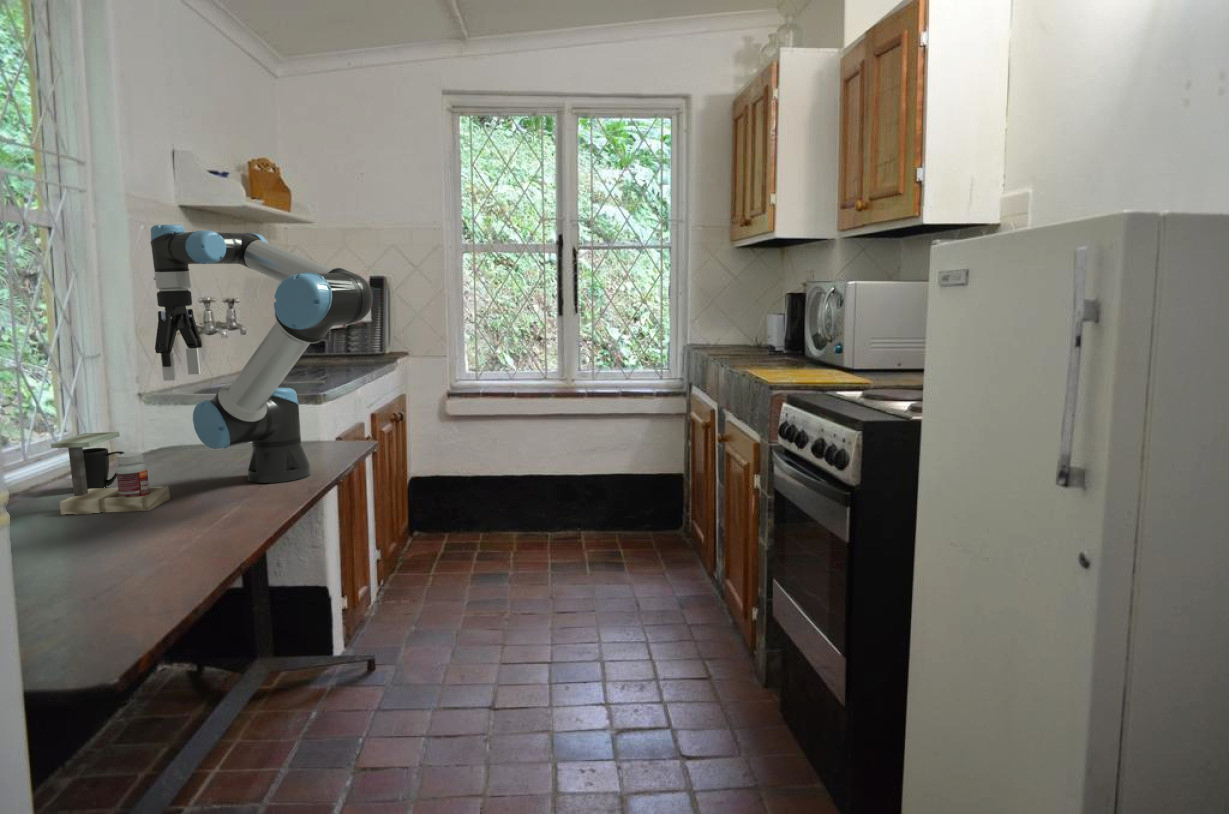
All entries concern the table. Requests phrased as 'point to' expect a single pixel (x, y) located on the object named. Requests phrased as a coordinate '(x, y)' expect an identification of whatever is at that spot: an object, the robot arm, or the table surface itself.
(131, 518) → the table surface
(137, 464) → the pill bottle
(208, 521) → the table surface
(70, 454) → the socket block
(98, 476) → the mug
